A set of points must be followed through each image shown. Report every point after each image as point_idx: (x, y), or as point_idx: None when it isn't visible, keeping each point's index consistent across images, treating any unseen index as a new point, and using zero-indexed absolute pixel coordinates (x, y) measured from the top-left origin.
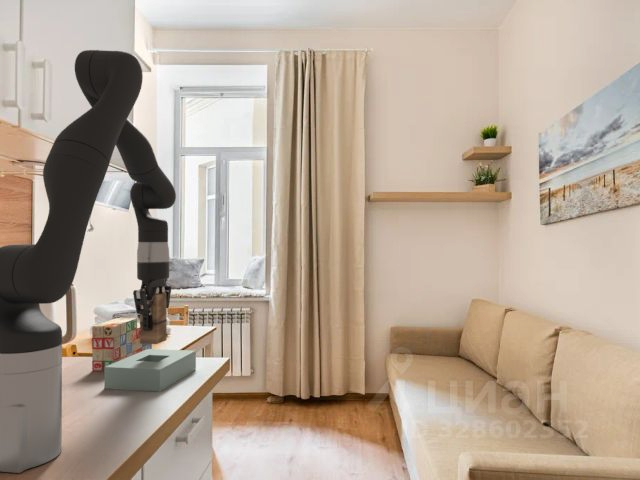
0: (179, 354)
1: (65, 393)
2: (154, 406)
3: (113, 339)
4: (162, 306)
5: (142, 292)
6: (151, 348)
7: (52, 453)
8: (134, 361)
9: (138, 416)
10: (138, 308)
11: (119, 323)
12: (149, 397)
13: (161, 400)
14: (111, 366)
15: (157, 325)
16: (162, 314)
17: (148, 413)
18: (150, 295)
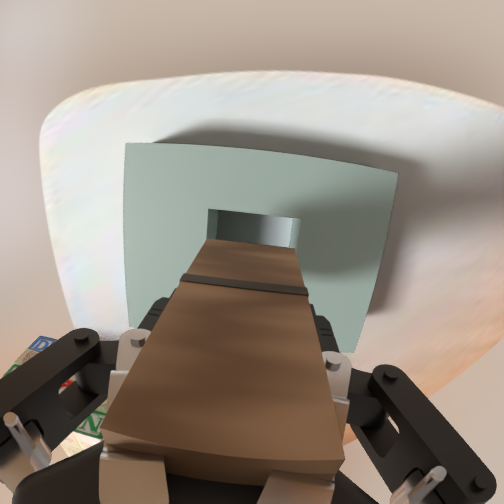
0: (186, 180)
1: None
2: (461, 148)
3: None
4: (219, 348)
5: (495, 482)
6: (36, 340)
7: None
8: None
9: (498, 164)
10: (385, 431)
11: None
12: (412, 179)
13: (430, 142)
14: (351, 338)
15: (298, 285)
16: (230, 308)
17: (488, 149)
18: (354, 483)
